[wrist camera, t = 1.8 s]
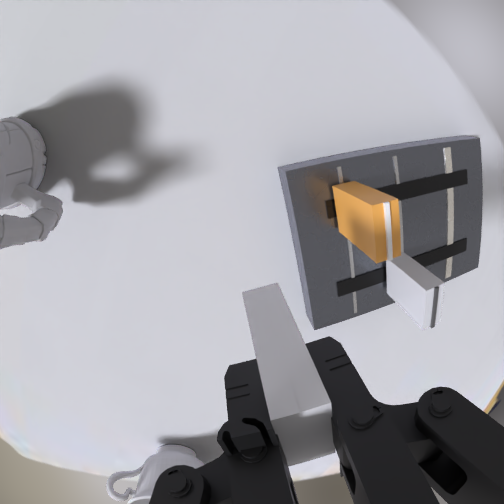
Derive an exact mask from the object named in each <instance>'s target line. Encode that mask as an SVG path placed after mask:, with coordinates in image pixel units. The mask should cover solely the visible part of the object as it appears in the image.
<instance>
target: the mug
mask: <svg viewBox="0 0 504 504" xmlns="http://www.w3.org/2000/svg"><path fill="white" fill-rule="evenodd" d="M45 151H46V147H45V143H44V140H43V138H42V136H41V134H40V133H39V131H38V130H37V129H36V128H32V126H31V125H30V123H28V122H26V121H24V120H22V119H19V118H15V117H9V118H4V119H1V120H0V209H11V208H14V207H17V206H19V205H21V204H22V205H24V206H25V207H27V208H29V209H31V210H32V214H31V215H29V216H28V217H26V218H19V217H18V216H10V215H5V214H4V215H3V216H1V215H0V249H2V248H5V247H9V246H13V245H23V244H25V243H26V242H32V241H38V242H40V241H43V240H45V239H46V238H47V236H48V234H49V232H50V231H52V230H54V228H55V227H56V226H57V224H58V222H59V220H60V218H61V216H62V213H63V209H62V203H63V202H62V201H61V200H60V199H58V198H56V197H54V196H51V195H48V194H45V193H42V192H40V191H38V190H36V189H37V188H38V187H39V185H40V183H41V181H42V179H43V176H44V173H45V169H46V166H45V165H44V164H46V160H47V157H46V156H45V155H44V153H45Z"/></svg>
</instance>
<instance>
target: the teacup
mask: <svg viewBox="0 0 504 504" xmlns="http://www.w3.org/2000/svg"><path fill="white" fill-rule="evenodd" d="M175 465H187V466H191V467H194V468H195V469H196V468H198V467H201V466H203V465H205V464H204V463H203V462H202V461H201V460H199V459H197V458H196V453H195V452H194V451H193V450H192V449H190V448H188V447H185V446H182V445H164V446H161V447H159V448H158V449H157V450H156V454H154V455H152V456H150V457H149V458H148V459H147V460H146V461H145V463H144V464H143V465H142V466H141V467H140V468H138V469H137V470H134V471H121V472H116V473H114V474H112V475H111V476H110V477H109V478H108V481H107V486H106V487H107V492H108V494H109V496H110V497H111V498H113V499H114V500H117V501H125V500H127V499H128V497H129V494H130V495H131V496H132V497H133V499H131V500H130V501H129V502H128V504H149V502H150V499H151V495H152V492H153V489H154V486H155V483H156V481H157V479H158V477H159V476H160V474H161V473H162V472H164V471H165V470H166V469H168V468H170V467H173V466H175ZM138 474H140V477H139V481H138V485H137V489H136V491H135V490H132V489H131V488H128V489H127V490H126V492H125V493H124V494H119V493H117V492H115V491H114V489H113V484H114V482H115V481H117V480H119V479H122V478H131V477H134V476H137V475H138Z"/></svg>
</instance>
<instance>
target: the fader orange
mask: <svg viewBox="0 0 504 504" xmlns="http://www.w3.org/2000/svg"><path fill="white" fill-rule="evenodd" d="M332 188H333V194H334V200H335V207H336V213H337V220H338V228H339V232H340V233H341V234H342V235H344V236H345V237H346V238H347V239H348V240H350V241H351V242H352V243H353V244H354V245H356V246H357V247H358V248H359V249H360V250H361V251H363V252H364V253H365V254H366V255H367V256H368V257H370V258H371V259H372V260H373V261H374V262H375V263H376V264H377V263H380V262H383V261H386V260H387V261H391V260H393V258H395V257H398V256H401V236H400V217H399V203H398V199H397V198H395V197H393V196H390V195H388V194H386V193H383V192H381V191H378V190H376V189H374V188H371V187H369V186H366V185H364V184H361V183H358V182H356V181H351V182H347V183H342V184H338V185H333V186H332Z"/></svg>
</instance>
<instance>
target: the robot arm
mask: <svg viewBox="0 0 504 504" xmlns="http://www.w3.org/2000/svg"><path fill="white" fill-rule="evenodd" d="M242 294H243V299H244V303H245V308H246V313H247V317H248V322H249V327H250V331H251V336H252V340H253V345H254V350H255V354H256V359H254V360H250V361H246V362H242V363H238V364H234V365H229V367H228V370H227V372H226V374H225V377H224V380H225V389H226V399H227V411H228V421H227V422H226V423H224V424H223V426H222V427H221V429H220V430H219V432H218V437H217V441H218V443H219V444H220V446H221V448H222V449H223V451H224V453H223V454H222V455H221V456H220V457H219V458H217V459H215V460H214V461H212V462H210V463H207V464H205V465H203V466H201V467H198V468H196V469H195V468H194V467H191V466H187V465H175V466H173V467H170V468H168V469H166V470H165V471H164V472H162V473H161V474H160V476H159V477H158V479H157V481H156V483H155V486H154V489H153V492H152V495H151V499H150V502H149V504H299V503H298V500H297V496H296V492H295V488H294V484H293V481H292V478H291V476H290V472H289V468H288V466H292V465H295V464H299V463H303V462H306V461H310V460H313V459H316V458H320V457H323V456H326V455H329V454H332V453H335V449H336V451H337V454H338V456H339V459H340V474H341V477H342V476H344V478H345V481H346V483H347V486H348V489H349V491H350V494H351V496H352V499H353V502H354V504H439V502H438V500H437V498H436V496H435V495H434V493H433V491H432V489H431V487H432V488H433V489H434V490H435V491H436V492H437V493H438V494H439V495H440V496H441V497H442V498H443V499H444V500H445V501H446V502H447V503H448V504H504V427H503V426H502V425H500V424H499V423H498V422H496V421H495V420H494V419H492V418H491V417H490V416H489V415H487V414H486V413H485V412H483V411H482V410H481V409H479V408H478V407H477V406H475V405H474V404H473V403H471V402H470V401H469V400H467V399H466V398H465V397H463V396H462V395H461V394H459V393H458V392H457V391H455V390H453V389H451V388H447V387H437V388H432V389H430V390H428V391H427V392H425V393H424V394H423V395H422V396H421V397H420V399H419V402H415V403H409V404H403V405H387V404H383V403H381V402H378V401H377V400H376V399H374V398H373V397H372V395H371V394H370V393H369V391H368V389H367V388H366V386H365V384H364V382H363V381H362V379H361V377H360V375H359V374H358V372H357V370H356V369H355V367H354V365H353V364H352V362H351V360H350V358H349V357H348V356H347V353H346V352H345V350H344V348H343V347H342V345H341V343H339V342H338V341H336V340H335V339H333V338H332V337H330V336H329V337H326V338H323V339H319V340H316V341H313V342H310V343H307V344H305V342H304V340H303V338H302V336H301V333H300V331H299V329H298V327H297V325H296V322H295V320H294V318H293V316H292V313H291V311H290V309H289V307H288V305H287V302H286V300H285V298H284V296H283V293H282V291H281V289H280V287H279V285H278V283H274V284H271V285H267V286H264V287H260V288H256V289H253V290H249V291H245V292H242ZM430 486H431V487H430Z"/></svg>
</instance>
